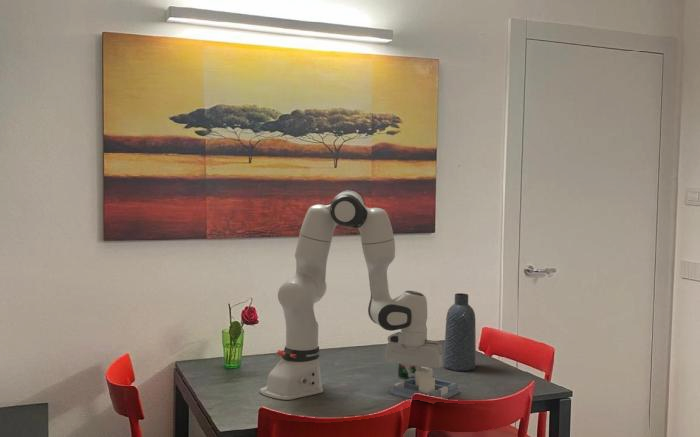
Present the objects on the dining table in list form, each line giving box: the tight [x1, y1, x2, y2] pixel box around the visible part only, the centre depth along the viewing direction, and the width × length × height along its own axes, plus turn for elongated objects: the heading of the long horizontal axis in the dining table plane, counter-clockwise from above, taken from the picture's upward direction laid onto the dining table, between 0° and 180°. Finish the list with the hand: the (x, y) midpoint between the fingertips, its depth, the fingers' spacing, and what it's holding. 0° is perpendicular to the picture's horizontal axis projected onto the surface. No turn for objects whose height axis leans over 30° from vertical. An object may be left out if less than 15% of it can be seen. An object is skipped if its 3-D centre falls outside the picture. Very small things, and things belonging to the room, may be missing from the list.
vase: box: [443, 292, 477, 372], centre depth 297 cm, size 12×12×28 cm
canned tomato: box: [397, 363, 417, 381], centre depth 283 cm, size 8×8×11 cm
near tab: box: [419, 376, 436, 394], centre depth 257 cm, size 4×4×6 cm
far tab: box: [420, 367, 433, 377], centre depth 271 cm, size 4×4×6 cm
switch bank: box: [390, 378, 461, 399], centre depth 264 cm, size 17×17×3 cm
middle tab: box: [415, 369, 431, 386], centre depth 265 cm, size 4×4×6 cm
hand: (413, 377), depth 268 cm, fingers closed
